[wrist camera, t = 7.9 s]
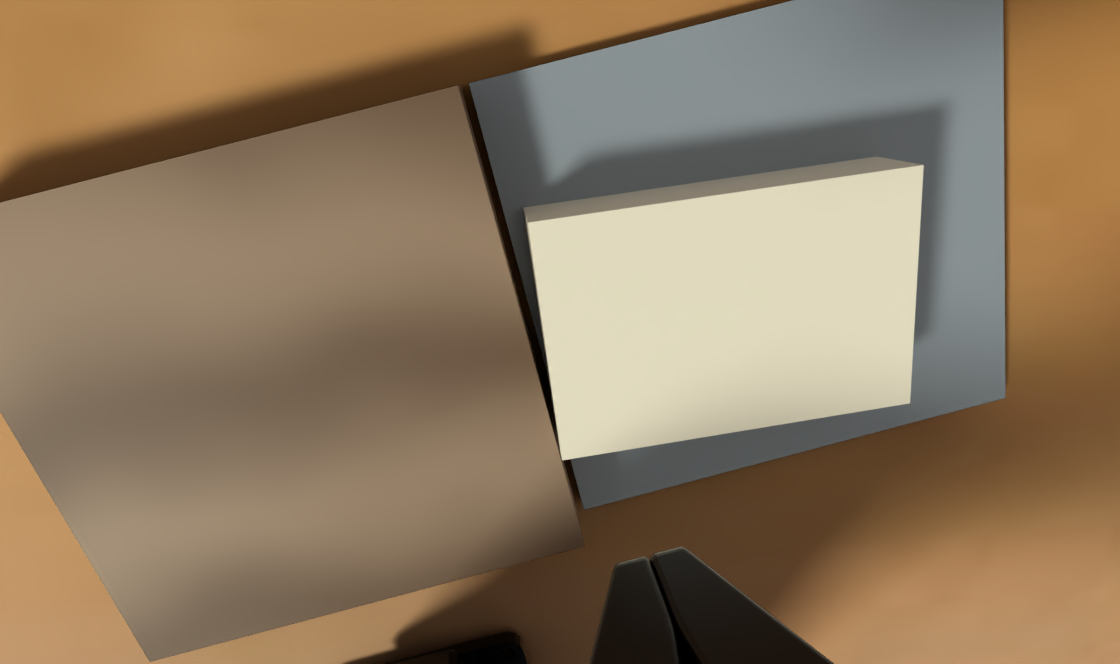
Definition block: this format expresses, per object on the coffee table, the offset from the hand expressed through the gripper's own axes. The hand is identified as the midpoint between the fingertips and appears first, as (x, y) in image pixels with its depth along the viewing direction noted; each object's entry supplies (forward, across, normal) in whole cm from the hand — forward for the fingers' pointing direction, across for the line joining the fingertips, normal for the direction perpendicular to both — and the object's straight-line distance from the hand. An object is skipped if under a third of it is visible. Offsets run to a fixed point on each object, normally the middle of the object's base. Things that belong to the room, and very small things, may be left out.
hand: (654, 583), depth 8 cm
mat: (+11, -6, 0) cm, 12 cm away
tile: (+10, -4, +1) cm, 11 cm away
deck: (+11, +7, 0) cm, 13 cm away
